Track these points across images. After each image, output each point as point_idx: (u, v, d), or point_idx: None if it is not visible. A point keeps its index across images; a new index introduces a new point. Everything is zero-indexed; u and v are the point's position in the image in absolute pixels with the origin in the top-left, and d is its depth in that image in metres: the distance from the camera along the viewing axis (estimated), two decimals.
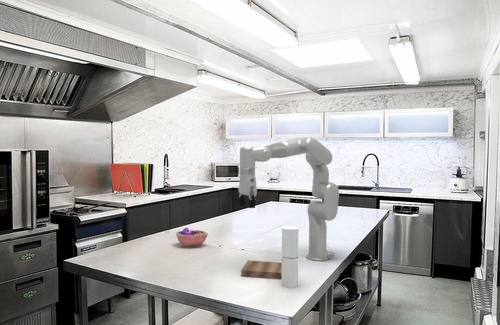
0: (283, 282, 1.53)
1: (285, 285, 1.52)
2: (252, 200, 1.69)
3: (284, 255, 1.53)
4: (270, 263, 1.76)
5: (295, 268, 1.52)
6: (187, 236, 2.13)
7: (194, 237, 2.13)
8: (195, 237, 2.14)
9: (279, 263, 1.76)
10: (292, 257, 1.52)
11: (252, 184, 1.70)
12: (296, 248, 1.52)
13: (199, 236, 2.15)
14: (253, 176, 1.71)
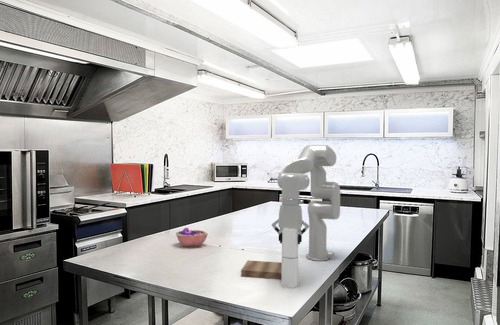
0: (283, 282, 1.53)
1: (285, 285, 1.52)
2: (301, 235, 1.54)
3: (284, 255, 1.53)
4: (270, 263, 1.76)
5: (295, 268, 1.52)
6: (187, 236, 2.13)
7: (194, 237, 2.13)
8: (195, 237, 2.14)
9: (279, 263, 1.76)
10: (292, 257, 1.52)
11: (301, 216, 1.54)
12: (296, 248, 1.52)
13: (199, 236, 2.15)
14: None
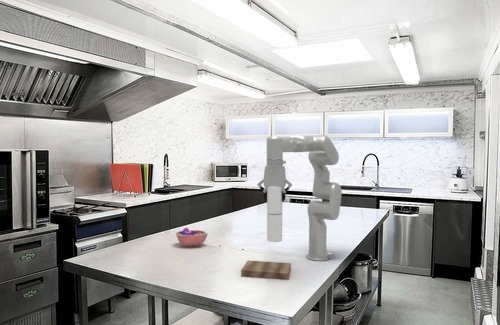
0: (268, 237, 1.64)
1: (270, 240, 1.63)
2: None
3: (269, 212, 1.63)
4: (270, 263, 1.76)
5: (279, 224, 1.63)
6: (187, 236, 2.13)
7: (194, 237, 2.13)
8: (195, 237, 2.14)
9: (279, 263, 1.76)
10: (276, 213, 1.62)
11: (285, 175, 1.65)
12: (280, 205, 1.63)
13: (199, 236, 2.15)
14: (284, 167, 1.65)
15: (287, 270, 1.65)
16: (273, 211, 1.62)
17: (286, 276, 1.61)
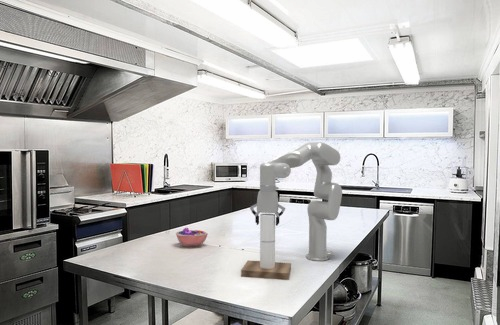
0: (261, 264, 1.69)
1: (263, 266, 1.68)
2: None
3: (262, 239, 1.69)
4: None
5: (272, 251, 1.68)
6: (187, 236, 2.13)
7: (194, 237, 2.13)
8: (195, 237, 2.14)
9: (279, 263, 1.76)
10: (269, 241, 1.68)
11: (277, 201, 1.70)
12: (273, 233, 1.68)
13: (199, 236, 2.15)
14: None
15: (287, 270, 1.65)
16: (266, 239, 1.68)
17: (286, 276, 1.61)
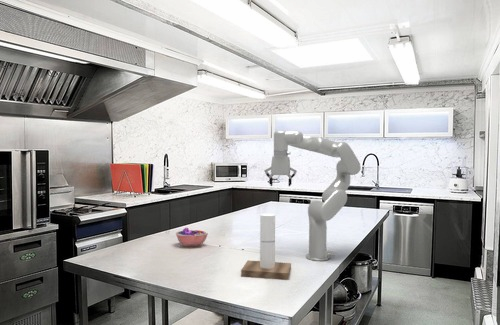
0: (261, 264, 1.69)
1: (263, 266, 1.68)
2: (291, 179, 1.89)
3: (262, 239, 1.69)
4: None
5: (272, 251, 1.68)
6: (187, 236, 2.13)
7: (194, 237, 2.13)
8: (195, 237, 2.14)
9: (279, 263, 1.76)
10: (269, 241, 1.68)
11: (289, 165, 1.90)
12: (273, 233, 1.69)
13: (199, 236, 2.15)
14: None
15: (287, 270, 1.65)
16: (266, 239, 1.68)
17: (286, 276, 1.61)
